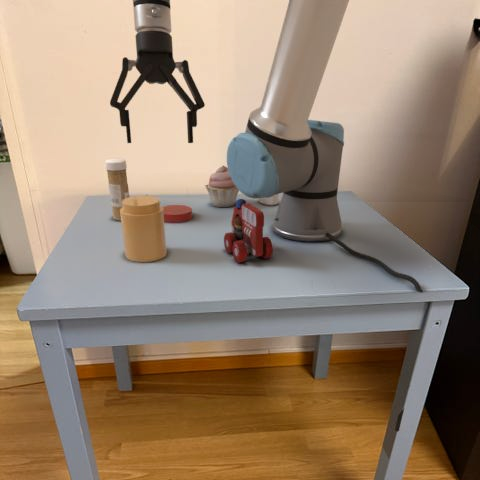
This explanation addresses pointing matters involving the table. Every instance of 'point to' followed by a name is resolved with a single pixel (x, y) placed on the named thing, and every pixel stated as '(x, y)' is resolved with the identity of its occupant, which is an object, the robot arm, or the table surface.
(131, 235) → the jar
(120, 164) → the sprinkles bottle
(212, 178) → the cupcake
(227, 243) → the toy fire truck
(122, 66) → the robot arm
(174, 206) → the lid
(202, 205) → the table surface
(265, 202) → the eye dropper bottle
